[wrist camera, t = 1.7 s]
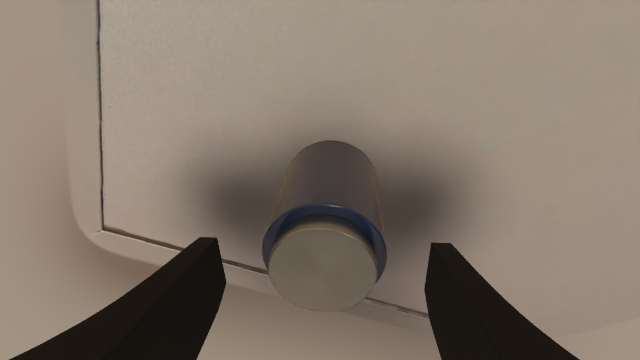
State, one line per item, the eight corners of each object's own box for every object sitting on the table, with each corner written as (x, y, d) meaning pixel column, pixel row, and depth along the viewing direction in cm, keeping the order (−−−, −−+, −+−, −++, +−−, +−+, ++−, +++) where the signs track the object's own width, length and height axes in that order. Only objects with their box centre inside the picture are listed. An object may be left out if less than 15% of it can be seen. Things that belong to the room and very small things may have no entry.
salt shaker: (374, 220, 18) (385, 323, 12) (290, 218, 18) (263, 317, 12) (378, 140, 16) (394, 219, 10) (284, 140, 16) (247, 216, 10)
